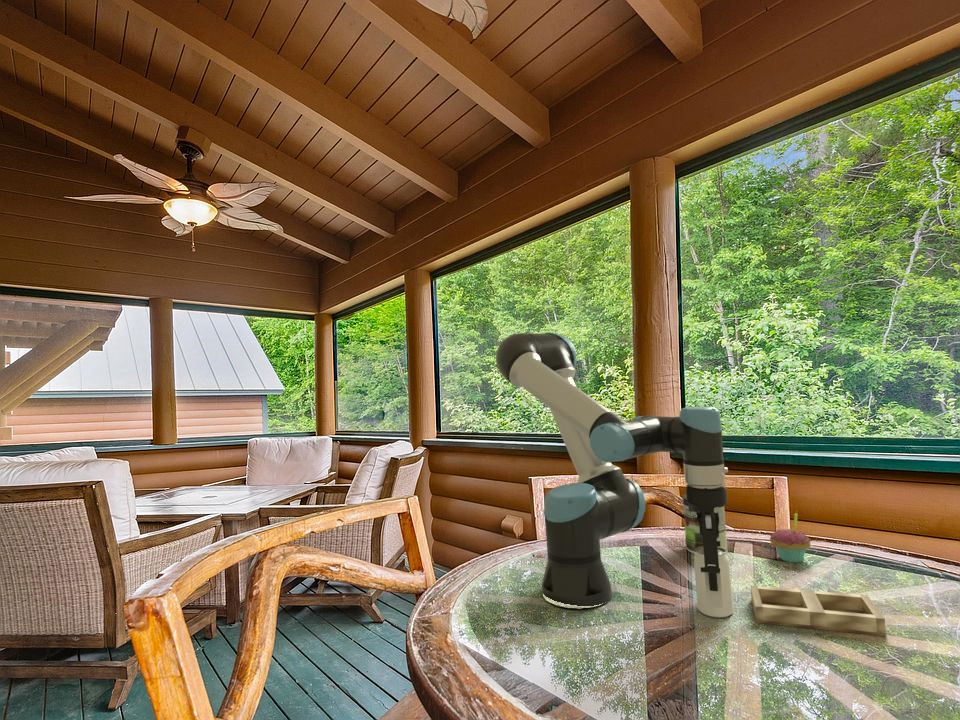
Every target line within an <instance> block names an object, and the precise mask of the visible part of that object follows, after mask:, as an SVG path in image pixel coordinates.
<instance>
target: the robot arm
mask: <svg viewBox="0 0 960 720" xmlns="http://www.w3.org/2000/svg"><path fill="white" fill-rule="evenodd" d="M495 362H496V363H495V364H496V367H497V370H498V371H499V373H500V374H501V376H502V377H503V378H504V379H505V380H506V381H507V382H508V383H510V384H512V386H514V387H515V388H523V389H525V390H526V391H527V392H528V393H529V394H531V395H532V396H534V398H536V399H537V400H538V401H540V402H541V403H542V404H543V405H545V406H546V407H547V408H549V409H550V412H551V415H552V417H553V419H554V422H555V423H556V426H557V429H558V431H559V433H560V435H561V439H562V440H563V443H564V445H565V448H566V449H567V452H568V455H569V457H570V460H571V461H572V464H573V466H574V468H575V471H576V473H577V476H578V479H577V482H572V483H569V484H566V483H565V484H561V485H558V486H556V487H554V488H553V487H552V488H551V489H550V490H548V491H547V492H546V495H545V496H544V503H543V504H544V509H543V515H544V527H545V528H544V529H545V537H546V538H545V539H546V551H547V553H546V554H547V561H546V562H547V563H546V566H545V569H544V573H543V578H542V583H541V593H542V592H543V594H544V595H545V596H546V597H548V598H550V599H552V600H554V601H557V602H561V603H564V604H570V605H577V606H594V605H599V604H602V603H605V602H607V601H608V602H610V601H611V599H612V597H613V595H612V585H611V581H610V578H609V577H608V574H607V571H606V569H605V566H604V564H603V561H602V556H601V555H602V554H601V542H600V540H603V539H606V538H609V537H612V536H616V535H618V534H620V533H625V532H629V530H631V529H633V528H635V527H637V526H638V525H639V524H640V523H641V521H642V520H643V518H644V513H645V511H646V500H645V495H644V492H643V490H642V489H641V487H640V486H639V484H638V483H636V482H635V481H633V480H632V479H630V478H626V476H625V475H624V472H623V471H622V468H621V467H619V466H617V465H616V464H615V465H614V464H612V462H617V463H618V462H624V461H626V460H629V459H630V460H631V459H633V458H637V457H642V456H647V455H651V454H656V453H663V452H664V453H676V454H682V456H683V457H682V459H683V464H682V465H683V473H684V475H683V476H684V482H685V483H686V486H685V494H686V498H687V503H688V504H689V505H691V506H694V507H700V508H701V512H697V519H698V524H699V529H700V536H701V537H702V538H703V549H704V563H705V567H704V568H703V567H701V572H705V585H706V598H707V607H717V608H723V601H722V589H721V576H720V568H719V560H718V548H717V547H721V546H720V541H717V538H719V529H718V526H719V515H718V512H714V508H716V507H723V506H724V507H725V506H727V505H728V491H727V487H726V486H725V485H724V484H725V483H726V473H728V472H729V469H728V467H725V461H724V446H723V444H724V443H723V427H722V421H721V416H720V411H719V410H718V408H716V407H715V406H689V407H688V406H687V407H683V408H681V409H680V411H679V416H657V415H650V414H649V415H648V414H647V415H641V416H640V415H639V416H635V417H634V418H633V419H629V420H626V419H623V418H621V417H620V416H618V415H617V414H616V413H615V412H613V411H611V410H609V409H608V408H607V407H605V405H602V404H601V403H600V402H599V401H597V400H596V399H594V398H593V397H592V396H590V395H589V394H587V393H585V392H584V391H583V390H582V389H580V388H578V387H577V385H576V383H575V381H574V377H575V375H576V372H577V371H576V369H575V368H576V365H577V352H576V348H575V345H574V344H573V343H572V341H571V340H570V339H569V338H568V337H566V336H565V335H563V334H560V333H553V332H545V333H525V332H524V333H521V332H519V333H518V332H517V333H513V334H511V335H509V336H507V337H506V338H505V339H503V340H502V341H501V342H500V344H499V345H498V347H497V350H496V353H495ZM709 564H710V565H716V566H708V565H709ZM608 602H607V603H608Z"/></svg>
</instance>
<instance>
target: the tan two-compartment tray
mask: <svg viewBox="0 0 960 720" xmlns="http://www.w3.org/2000/svg"><path fill="white" fill-rule="evenodd" d="M749 586H750V600H751V604H752V608H753V612H754V616H755V617H754V618H755V622H756V623H758V624H769V625H776V626H777V625H778V626H787V627H797V628H805V629H813V630H814V629H815V630H823V631H832V632H833V631H834V632H842V633H852V634H862V635H870V636H879V637H887V632H886V619H885V617H884V616H883V615H882V613H881V612H880V610H879V609H878V608H877V606H876V605H875V604H874V603H873V601H872V600H871V598H870V597H869V595H867V594H854V593H845V592H844V593H843V592H831V591H820V590H819V591H818V590H810V589H809V590H808V589H798V588H797V589H796V588H783V587H772V586H761V585H759V586H758V585H749Z"/></svg>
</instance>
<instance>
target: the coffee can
mask: <svg viewBox="0 0 960 720" xmlns="http://www.w3.org/2000/svg"><path fill="white" fill-rule="evenodd" d="M681 497H682V502H683V503H682V505H683V518H684V530H685V531H684V532H685V549H687V550H688V551H689V552H688V551H687V550H686V551H687V552H688V553H690V552H691V554H693V553H694V554H693V555H695V553H696V550H695V549H696V548H697V547H700V546H703V538H702V537H701V536H700V529H699V524H698V519H697V512H701V508H700V507H694V506H691V505H689V504H688V503H687V498H686V493H684V494H683V495H682V496H681ZM714 512H718V515H719V526H718V529H719V538H717V541H720V546H721V547H720V548H723V549H724V550H726V554H728V551H729V550H728V542H727V541H728V540H727V528H726V527H727V526H726V514H725V513H726V512H725V506H723V507H716V508H714Z"/></svg>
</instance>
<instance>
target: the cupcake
mask: <svg viewBox="0 0 960 720" xmlns="http://www.w3.org/2000/svg"><path fill="white" fill-rule="evenodd" d="M798 517H799V515H798V510H796V512H795V513H794V517H793V525H792V526H793V527H792V528H788V529H786V528H785V529H782V528H781V529H778V530H776V531H774V532H772V533H771V535H770V538H769V541H770V543H771V544H772V545H773V546H774V547H775V548H776V551H777V553H778V555H779V557H780V559H781V560H782V561H785V562H789V563H802V562H803V561H804V557H805V553H806V551H807V549H809V548H811V538H809V536H807V535H806V534H805V533H803V532H801V531H798V530H797V525H798Z"/></svg>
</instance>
